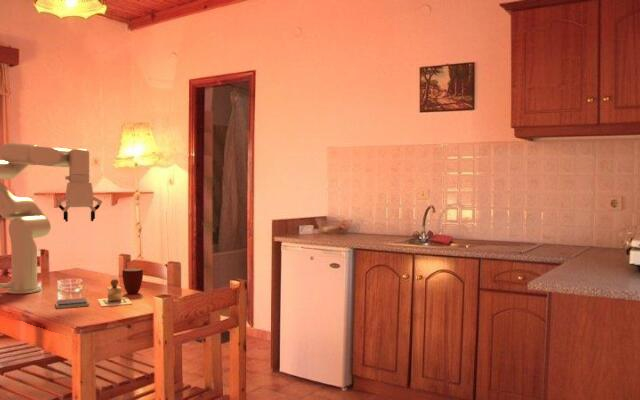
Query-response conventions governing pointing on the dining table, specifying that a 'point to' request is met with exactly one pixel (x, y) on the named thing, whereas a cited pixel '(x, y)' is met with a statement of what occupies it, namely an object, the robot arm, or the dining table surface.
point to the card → (105, 302)
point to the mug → (132, 280)
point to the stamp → (114, 292)
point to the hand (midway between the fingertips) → (79, 221)
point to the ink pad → (71, 303)
